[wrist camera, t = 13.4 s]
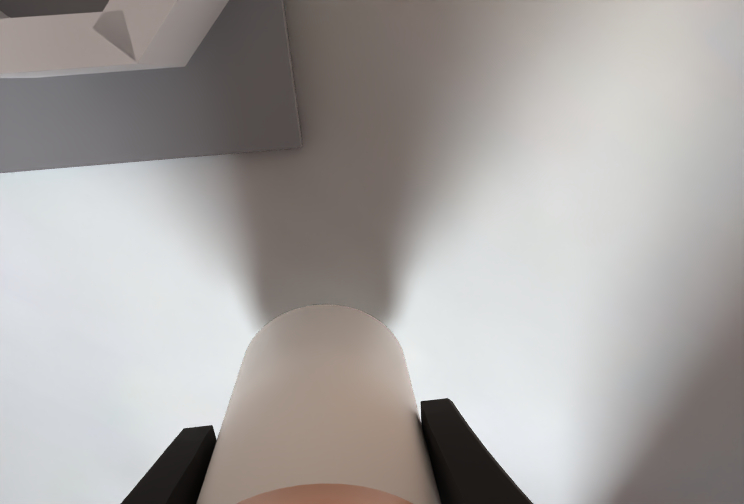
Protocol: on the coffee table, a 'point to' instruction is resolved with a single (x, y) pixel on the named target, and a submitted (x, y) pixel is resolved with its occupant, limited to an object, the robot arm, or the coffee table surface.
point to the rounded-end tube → (321, 418)
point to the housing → (142, 81)
